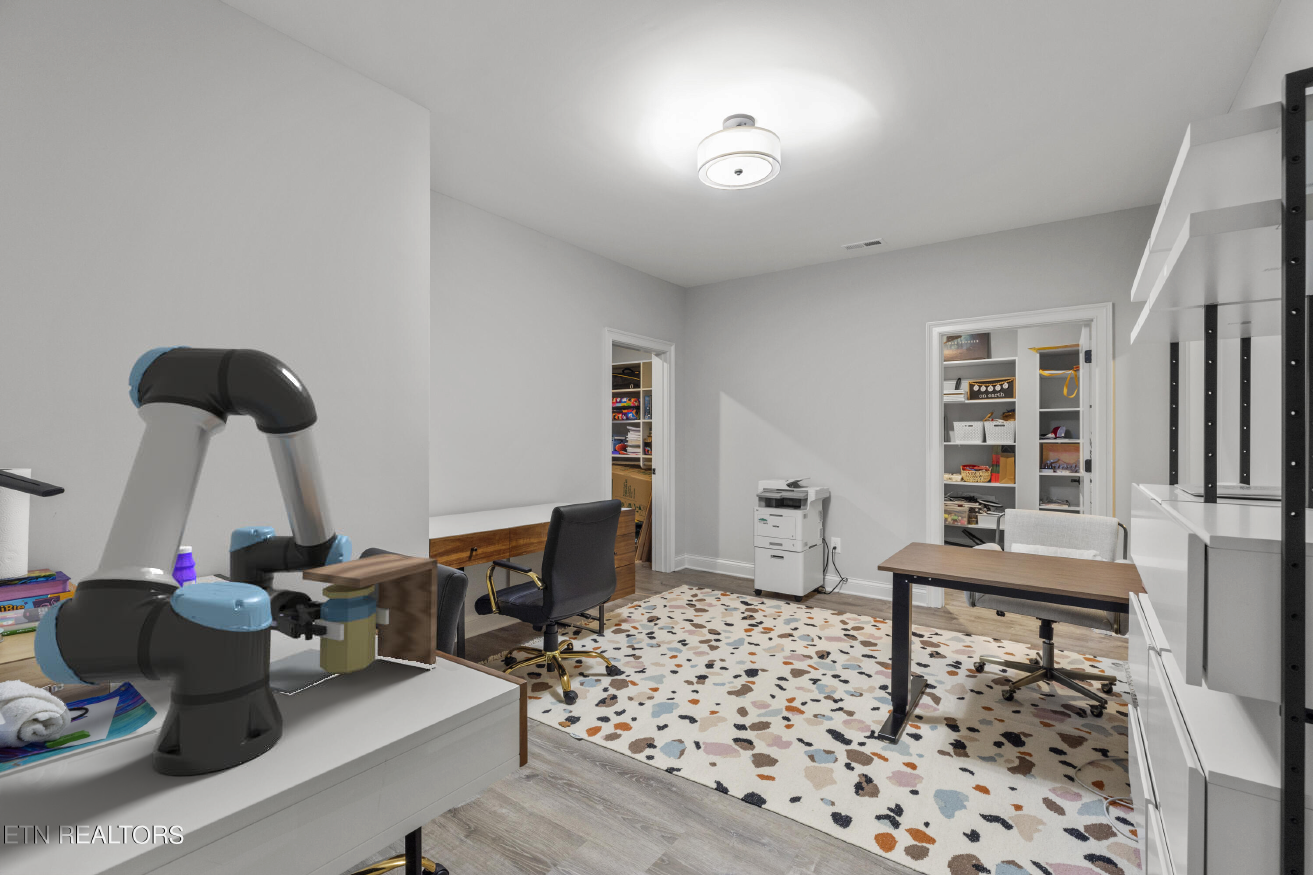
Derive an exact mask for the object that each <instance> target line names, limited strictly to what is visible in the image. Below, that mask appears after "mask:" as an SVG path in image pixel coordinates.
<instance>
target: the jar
mask: <svg viewBox="0 0 1313 875" xmlns="http://www.w3.org/2000/svg"><path fill="white" fill-rule="evenodd" d="M375 590H376V583H375V584H372V585H368V586H364V587H360V588H359V587H352V586H345V585H338V584H330V585H328V586H326V587H323V588H322V594H321V595H322V596H324V597H326V598H327V600H326V601H324V602H325V603H323V604H322V605H321V620H324V621H330V622H335V623H340V624H344V639H343V640H341V641H339V640H334V639H329V638H324V637H319V650H320V667H321V668H322V669H324V670H325V671H326V672H328V673H331V674H341V675H343V674H344V675H347V674H351V673H354V672H359V671H361V670H364V669H365V668H367V667H368V666H369V665H371V664H372V662H374V661H375V659H376V630H377V629H376V624H377V623H376V607H377V599H376V598H373V597H372V596H370V595H369V594H371V593H373V592H374V591H375Z"/></svg>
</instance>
